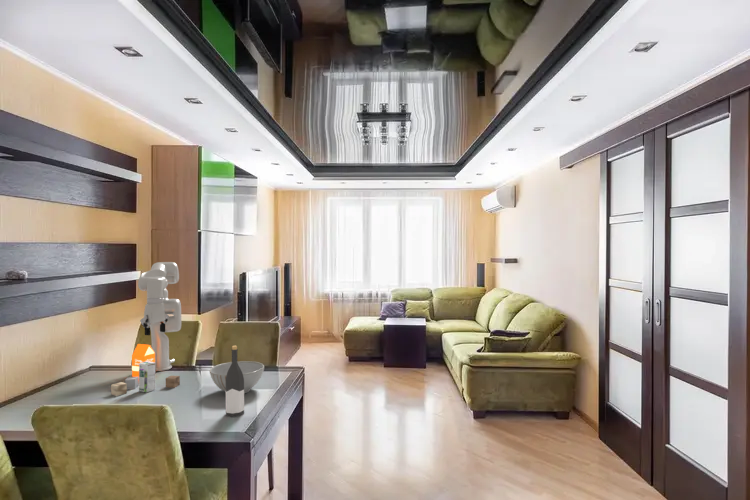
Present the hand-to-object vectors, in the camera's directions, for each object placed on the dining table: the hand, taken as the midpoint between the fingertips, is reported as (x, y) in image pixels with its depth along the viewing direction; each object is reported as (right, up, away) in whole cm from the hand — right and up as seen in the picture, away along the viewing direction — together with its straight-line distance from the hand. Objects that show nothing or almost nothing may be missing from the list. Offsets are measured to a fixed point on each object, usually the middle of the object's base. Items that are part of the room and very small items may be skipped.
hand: (155, 333), depth 236 cm
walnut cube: (+9, -29, +1) cm, 30 cm away
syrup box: (-2, -29, -5) cm, 29 cm away
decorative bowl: (+46, -28, -7) cm, 54 cm away
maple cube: (-13, -29, -11) cm, 33 cm away
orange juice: (-13, -29, +13) cm, 34 cm away
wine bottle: (+54, -29, -39) cm, 72 cm away
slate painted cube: (-12, -29, 0) cm, 31 cm away
